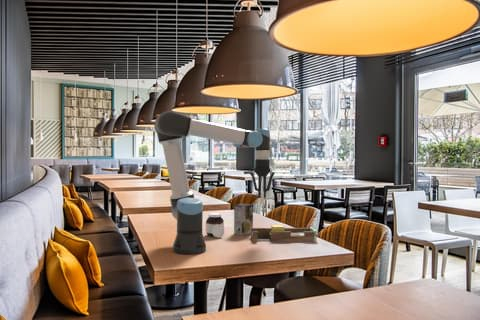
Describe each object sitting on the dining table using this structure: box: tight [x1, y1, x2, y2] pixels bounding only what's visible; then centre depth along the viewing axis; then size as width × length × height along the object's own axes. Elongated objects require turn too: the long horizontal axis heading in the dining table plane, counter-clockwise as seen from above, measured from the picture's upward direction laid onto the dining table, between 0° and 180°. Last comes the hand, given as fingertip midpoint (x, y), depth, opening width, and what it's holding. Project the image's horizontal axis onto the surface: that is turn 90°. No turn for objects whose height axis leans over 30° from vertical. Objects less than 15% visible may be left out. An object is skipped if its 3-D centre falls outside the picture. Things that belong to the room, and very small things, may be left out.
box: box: [250, 226, 318, 243], centre depth 212 cm, size 10×33×6 cm, turn 93°
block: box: [270, 224, 285, 231], centre depth 212 cm, size 5×6×4 cm
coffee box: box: [233, 203, 254, 236], centre depth 226 cm, size 9×6×16 cm
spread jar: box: [205, 212, 225, 239], centre depth 219 cm, size 12×11×12 cm
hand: (261, 204), depth 211 cm, fingers closed
